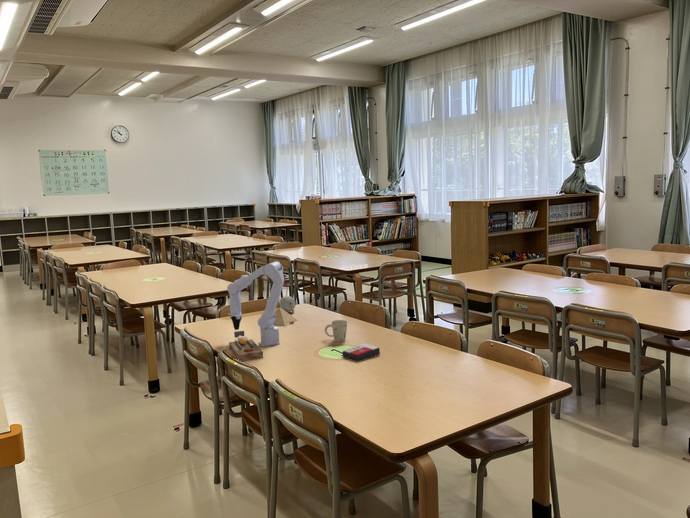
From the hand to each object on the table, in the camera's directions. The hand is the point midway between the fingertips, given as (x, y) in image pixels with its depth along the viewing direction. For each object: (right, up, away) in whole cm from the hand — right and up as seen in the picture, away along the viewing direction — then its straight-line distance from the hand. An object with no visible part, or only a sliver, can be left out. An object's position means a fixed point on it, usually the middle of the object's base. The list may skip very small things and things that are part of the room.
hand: (236, 329), depth 292 cm
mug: (+54, -6, 0) cm, 54 cm away
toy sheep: (+20, +2, +67) cm, 70 cm away
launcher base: (+8, -9, -18) cm, 22 cm away
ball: (+6, -4, -15) cm, 17 cm away
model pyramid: (+19, -2, +41) cm, 45 cm away
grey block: (+4, -5, -9) cm, 10 cm away
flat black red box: (+66, -10, -28) cm, 73 cm away
